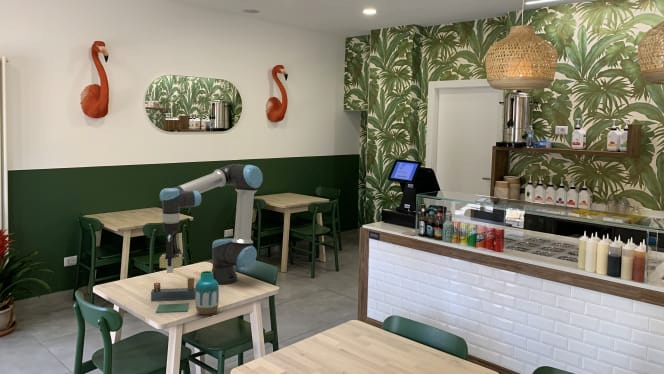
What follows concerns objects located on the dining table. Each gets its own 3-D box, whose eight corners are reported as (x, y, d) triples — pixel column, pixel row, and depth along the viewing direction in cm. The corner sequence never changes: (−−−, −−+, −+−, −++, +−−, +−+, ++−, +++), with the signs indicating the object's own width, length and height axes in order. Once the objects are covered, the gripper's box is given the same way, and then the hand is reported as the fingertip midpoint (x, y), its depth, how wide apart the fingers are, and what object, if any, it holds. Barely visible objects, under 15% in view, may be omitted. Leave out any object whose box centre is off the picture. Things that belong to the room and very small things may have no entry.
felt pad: (189, 304, 253) (189, 303, 253) (187, 311, 243) (187, 310, 243) (158, 305, 251) (158, 304, 250) (155, 313, 241) (155, 311, 241)
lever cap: (182, 263, 251) (182, 252, 251) (180, 267, 243) (179, 256, 242) (162, 263, 250) (162, 252, 249) (159, 267, 241) (159, 256, 241)
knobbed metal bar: (196, 296, 265) (196, 276, 264) (195, 299, 260) (195, 279, 259) (152, 298, 261) (152, 278, 260) (151, 301, 256) (150, 281, 255)
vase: (190, 313, 240) (189, 272, 238) (207, 307, 249) (207, 267, 247) (206, 319, 235) (206, 277, 232) (223, 312, 243) (223, 271, 241)
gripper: (166, 218, 254) (166, 264, 256) (158, 226, 233) (159, 276, 235) (182, 218, 255) (182, 264, 257) (176, 226, 234) (176, 276, 237)
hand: (171, 269), depth 246 cm, fingers closed on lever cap, 8 cm apart
